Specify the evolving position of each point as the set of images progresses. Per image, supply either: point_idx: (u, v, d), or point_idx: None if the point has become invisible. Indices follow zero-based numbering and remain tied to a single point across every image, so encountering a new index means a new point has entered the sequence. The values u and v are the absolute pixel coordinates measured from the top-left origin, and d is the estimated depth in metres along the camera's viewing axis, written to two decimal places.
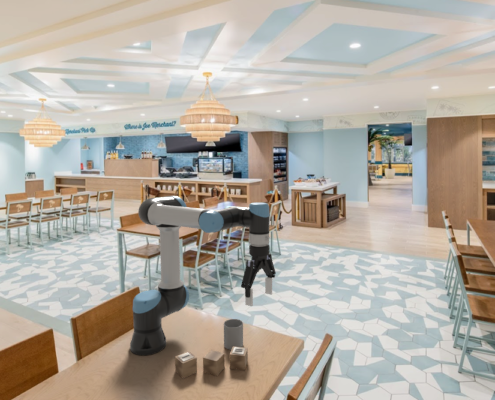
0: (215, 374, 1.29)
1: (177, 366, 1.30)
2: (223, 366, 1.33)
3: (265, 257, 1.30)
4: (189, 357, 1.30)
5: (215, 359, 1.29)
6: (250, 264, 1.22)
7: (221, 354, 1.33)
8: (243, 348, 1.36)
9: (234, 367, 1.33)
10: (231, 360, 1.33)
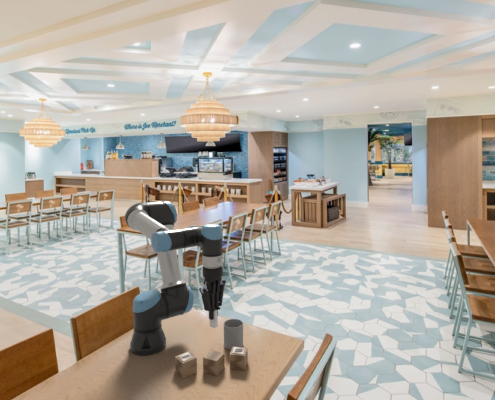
0: (215, 374, 1.29)
1: (177, 366, 1.30)
2: (223, 366, 1.33)
3: (220, 277, 1.31)
4: (189, 357, 1.30)
5: (215, 359, 1.29)
6: (203, 292, 1.24)
7: (221, 354, 1.33)
8: (243, 348, 1.36)
9: (234, 367, 1.33)
10: (231, 360, 1.33)
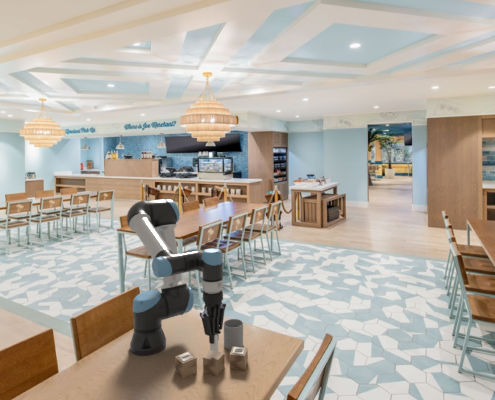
0: (215, 374, 1.29)
1: (177, 366, 1.30)
2: (223, 366, 1.33)
3: (220, 301, 1.31)
4: (189, 357, 1.30)
5: (215, 359, 1.29)
6: (204, 317, 1.25)
7: (221, 354, 1.33)
8: (243, 348, 1.36)
9: (234, 367, 1.33)
10: (231, 360, 1.33)
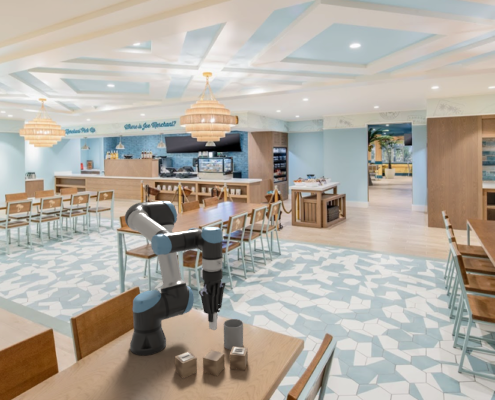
0: (215, 374, 1.29)
1: (177, 366, 1.30)
2: (223, 366, 1.33)
3: (219, 280, 1.31)
4: (189, 357, 1.30)
5: (215, 359, 1.29)
6: (203, 295, 1.24)
7: (221, 354, 1.33)
8: (243, 348, 1.36)
9: (234, 367, 1.33)
10: (231, 360, 1.33)
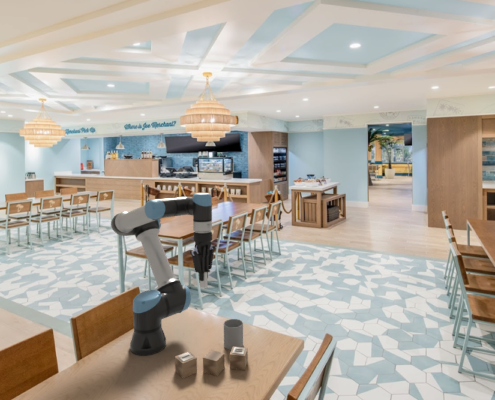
0: (215, 374, 1.29)
1: (177, 366, 1.30)
2: (223, 366, 1.33)
3: (209, 242, 1.42)
4: (189, 357, 1.30)
5: (215, 359, 1.29)
6: (194, 254, 1.35)
7: (221, 354, 1.33)
8: (243, 348, 1.36)
9: (234, 367, 1.33)
10: (231, 360, 1.33)
